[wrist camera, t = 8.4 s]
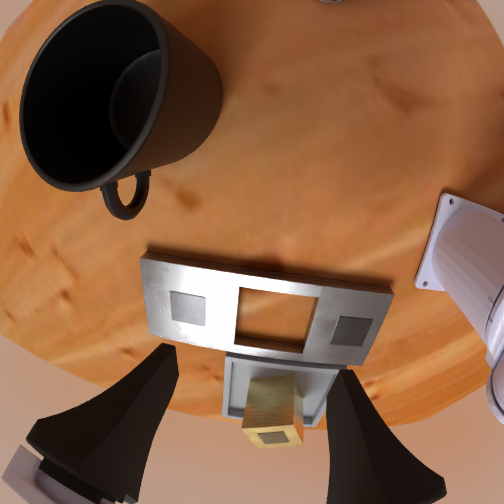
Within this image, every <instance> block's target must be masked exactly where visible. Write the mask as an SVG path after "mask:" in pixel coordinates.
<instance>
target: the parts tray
mask: <svg viewBox="0 0 504 504" xmlns="http://www.w3.org/2000/svg"><path fill="white" fill-rule="evenodd" d="M340 369H347V366H346V365H338V364H324V363H312V362H301V361H292V360H283V359H275V358H268V357H260V356H254V355H247V354H241V353H235V352H229V351H227V353H226V356H225V373H224V391H223V411H222V417H227V418H233V419H239V420H243V417H244V411H245V405H246V400H247V394H248V388H249V382H250V380H254V379H262V378H270V377H277V376H283V375H290V374H295V377H296V380H297V382H298V385H299V388H300V391H301V393H302V396H303V413H304V420H303V427H316V425H317V424H318V422H319V420H320V419H321V417H322V415H323V414H324V412H325V410H326V400H327V394H328V392H329V390H330V388H331V386H332V384H333V382H334V380H335V378H336V376H337V374H338V372H339V370H340Z"/></svg>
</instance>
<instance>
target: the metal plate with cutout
mask: <svg viewBox="0 0 504 504" xmlns="http://www.w3.org/2000/svg"><path fill="white" fill-rule="evenodd" d="M140 265H141V275H142V284H143V292H144V300H145V308H146V315H147V321H148V327H149V333H150V334H151V335H155V336H159V337H163V338H167V339H171V340H175V341H179V342H184V343H188V344H193V345H198V346H203V347H208V348H213V349H218V350H223V351H229V352H235V353H241V354H247V355H254V356H260V357H268V358H275V359H283V360H292V361H301V362H312V363H324V364H338V365H358V366H362V364H363V363H364V361H365V359H366V357H367V355H368V353H369V351H370V349H371V347H372V345H373V343H374V341H375V338H376V336H377V334H378V332H379V330H380V328H381V325H382V323H383V321H384V319H385V316H386V314H387V312H388V309H389V307H390V305H391V302H392V300H393V297H394V293H393V291H392V290H391V288H390V287H387V286H379V285H371V284H363V283H355V282H347V281H340V280H332V279H325V278H318V277H310V276H303V275H296V274H289V273H282V272H275V271H268V270H261V269H254V268H247V267H240V266H234V265H227V264H221V263H214V262H208V261H201V260H195V259H188V258H182V257H176V256H170V255H163V254H157V253H151V252H146V253H145V254H144V255H143V256H141V257H140ZM241 287H247V288H254V289H261V290H268V291H275V292H282V293H289V294H296V295H304V296H312V297H316V298H315V302H314V306H313V309H312V313H311V316H310V320H309V323H308V327H307V330H306V334H305V337H304V340H303V344H293V343H285V342H277V341H269V340H262V339H255V338H249V337H243V336H236V330H237V319H238V309H239V298H240V288H241Z"/></svg>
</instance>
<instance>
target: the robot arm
mask: <svg viewBox="0 0 504 504" xmlns="http://www.w3.org/2000/svg"><path fill="white" fill-rule="evenodd" d="M450 199H452V202H451V203H449V201H450ZM425 281H426V283H425V284H423V283H424V282H425ZM414 284H415V286H416V287H417V288H422V289H430V290H439V291H446V292H447V293H448V294H449V295H450V297H451V298H452V299H453V300H454V302H455V303H456V304H457V306H458V307H459V308H460V310H461V311H462V312H463V313H464V315H465V316H466V318H467V319H468V320H469V322H470V323H471V324H472V326H473V327H474V329H475V330H476V331H477V333H478V334H479V336H480V337H481V339H482V340H483V342H484V343H485V345H486V346H487V354H486V356H485V359H486V361H487V362H488V364H489V366H490V368H491V369H492V370H491V372H490V374H489V377H488V380H487V386H486V393H487V399H488V403H489V406H490V408H491V410H492V412H493V414H494V415H495V416H496V418H497V419H498V420H499V421H500V422H501V423H502V424H503V425H504V214H502V213H499V212H497V211H494V210H492V209H489V208H487V207H484V206H482V205H479V204H477V203H474V202H471V201H468V200H466V199H463V198H460V197H457V196H454V195H451V194H448V193H443V194H442V195H441V197H440V201H439V205H438V209H437V213H436V216H435V220H434V224H433V227H432V231H431V234H430V237H429V241H428V244H427V247H426V250H425V253H424V256H423V259H422V262H421V265H420V267H419V270H418V273H417V276H416V278H415V281H414ZM178 377H179V371H178V363H177V356H176V348H175V346H173V345H169V344H165V343H162V344H160V345H159V346H158V347H157V348H156V349H155V350H154V351H153V352H152V353H151V354H150V355H149V356H148V357H147V358H146V359H144V360H143V361H142V362H141V363H140V364H139V365H138V366H137V367H135V368H134V369H133V370H132V371H131V372H130V373H128V374H127V375H126V376H125V377H123V378H122V379H121V380H120V381H118V382H117V383H116V384H114V385H113V386H111V387H110V388H109V389H107V390H106V391H104V392H102V393H101V394H99V395H98V396H96V397H94V398H92V399H90V400H89V401H87V402H85V403H83V404H81V405H79V406H77V407H74V408H72V409H69V410H67V411H65V412H62V413H59V414H56V415H53V416H49V417H46V418H42V419H38V420H37V422H36V423H35V424H34V426H33V428H32V429H31V431H30V432H29V434H28V436H27V437H26V441H27V442H28V443H29V444H30V445H31V446H32V447H33V448H34V449H35V450H37V452H39V453H40V454H41V455H42V456H43V457H44V459H43V460H42V461H41V460H40V459H39V458H38V457H36V456H35V455H34V454H32V453H31V452H29V451H28V450H27V449H26V448H24V447H23V446H22V445H20V446H19V448H18V449H17V451H16V453H15V454H14V456H13V458H12V459H11V461H10V463H9V465H8V466H7V468H6V470H5V472H4V474H3V476H2V480H3V481H4V482H5V483H6V484H7V485H8V486H10V487H11V488H12V489H13V490H14V491H15V492H16V493H17V494H19V495H20V496H21V497H22V498H23V499H24V500H25V501H26V502H27V503H29V504H115V501H117V502H119V503H123V501H124V502H127V503H129V504H134V503H136V502H138V497H139V491H140V487H141V482H142V477H143V473H144V469H145V465H146V462H147V458H148V454H149V451H150V448H151V445H152V441H153V438H154V435H155V433H156V430H157V428H158V426H159V424H160V422H161V419H162V417H163V415H164V413H165V411H166V409H167V406H168V404H169V402H170V400H171V398H172V395H173V393H174V390H175V387H176V383H177V380H178ZM326 419H327V430H328V440H329V451H330V474H329V487H328V496H327V503H326V504H432V503H434V502H435V501H438V500H440V499H441V498H443V497H444V496H446V494H447V491H446V486H445V481H444V478H443V477H441V476H440V475H438V474H436V473H435V472H434V471H432V470H431V469H429V468H428V467H426V466H425V465H424V464H423V463H422V462H421V461H419V460H418V459H417V458H416V457H415V456H414V455H413V454H412V453H410V451H409V450H407V449H406V448H405V447H404V446H403V445H402V443H401V442H400V441H399V440H398V439H397V438H396V437H395V435H394V434H393V433H392V432H391V430H390V429H389V428H388V426H387V425H386V424H385V422H384V421H383V419H382V418H381V417H380V415H379V413H378V412H377V410H376V409H375V407H374V406H373V404H372V402H371V401H370V399H369V397H368V396H367V394H366V392H365V391H364V389H363V387H362V385H361V383H360V382H359V380H358V378H357V376H356V374H355V373H354V371H353V370H347V369H340V370H339V372H338V374H337V376H336V378H335V380H334V382H333V384H332V386H331V388H330V390H329V392H328V394H327V400H326Z"/></svg>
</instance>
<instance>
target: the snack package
mask: <svg viewBox="0 0 504 504" xmlns="http://www.w3.org/2000/svg"><path fill="white" fill-rule="evenodd" d="M320 1H322V2H325V3H331V2H327V1H326V0H320ZM334 1H335V2H333V3H337V2H340V1H343V0H334Z"/></svg>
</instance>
